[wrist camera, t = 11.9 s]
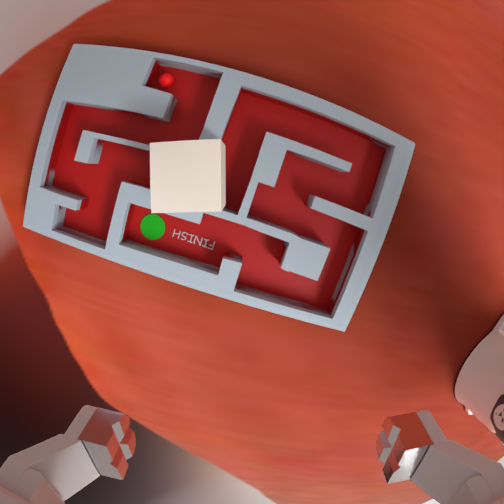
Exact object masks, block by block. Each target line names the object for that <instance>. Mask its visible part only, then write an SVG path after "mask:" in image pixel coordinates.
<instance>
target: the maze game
mask: <svg viewBox="0 0 504 504" xmlns="http://www.w3.org/2000/svg"><path fill="white" fill-rule="evenodd" d="M207 139H221V140H222V142H223V143H224V145H225V166H226V205H225V207H224V208H223V210H222V211H221V212H177V213H151V192H150V143H156V142H169V141H185V140H207ZM415 144H416V143H414V142H412V141H410V140H408V139H407V138H405V137H403V136H401V135H399V134H397V133H395V132H393V131H391V130H389V129H388V128H386V127H384V126H382V125H380V124H378V123H375V122H373V121H371V120H369V119H367V118H365V117H363V116H361V115H358V114H356V113H354V112H352V111H350V110H347V109H345V108H343V107H340V106H338V105H336V104H333V103H331V102H329V101H326V100H324V99H321V98H319V97H316V96H313V95H311V94H308V93H306V92H303V91H300V90H298V89H295V88H292V87H289V86H286V85H283V84H280V83H277V82H274V81H271V80H268V79H265V78H262V77H259V76H256V75H252V74H249V73H245V72H242V71H238V70H235V69H231V68H227V67H223V66H220V65H216V64H211V63H207V62H203V61H199V60H194V59H189V58H185V57H180V56H174V55H169V54H163V53H158V52H151V51H145V50H138V49H130V48H122V47H113V46H102V45H88V44H73V47H72V49H71V51H70V53H69V56H68V58H67V60H66V63H65V65H64V67H63V70H62V72H61V75H60V78H59V80H58V83H57V86H56V88H55V91H54V94H53V97H52V100H51V103H50V106H49V109H48V112H47V115H46V118H45V122H44V125H43V128H42V132H41V136H40V139H39V143H38V147H37V151H36V155H35V160H34V164H33V169H32V173H31V178H30V184H29V189H28V195H27V201H26V207H25V214H24V222H23V227H25V228H28V229H30V230H32V231H35V232H37V233H40V234H42V235H45V236H47V237H50V238H52V239H55V240H58V241H60V242H63V243H65V244H68V245H70V246H73V247H76V248H78V249H81V250H84V251H86V252H89V253H92V254H94V255H97V256H100V257H103V258H105V259H108V260H111V261H114V262H116V263H119V264H122V265H125V266H128V267H131V268H133V269H136V270H139V271H142V272H145V273H148V274H151V275H154V276H157V277H160V278H163V279H166V280H169V281H172V282H175V283H178V284H181V285H184V286H187V287H190V288H193V289H196V290H200V291H203V292H206V293H209V294H212V295H215V296H219V297H222V298H225V299H229V300H232V301H235V302H238V303H242V304H245V305H249V306H252V307H255V308H259V309H262V310H266V311H269V312H273V313H276V314H280V315H283V316H287V317H291V318H294V319H298V320H302V321H305V322H309V323H313V324H317V325H320V326H324V327H328V328H332V329H336V330H340V331H344V332H345V330H346V328H347V326H348V324H349V322H350V319H351V317H352V315H353V313H354V311H355V309H356V306H357V304H358V302H359V300H360V297H361V295H362V293H363V291H364V288H365V286H366V284H367V281H368V279H369V277H370V274H371V272H372V269H373V267H374V264H375V262H376V260H377V257H378V254H379V252H380V249H381V247H382V244H383V242H384V239H385V236H386V234H387V231H388V228H389V225H390V223H391V220H392V217H393V214H394V211H395V209H396V206H397V203H398V200H399V197H400V194H401V191H402V188H403V184H404V181H405V178H406V175H407V172H408V168H409V165H410V161H411V158H412V155H413V151H414V147H415Z"/></svg>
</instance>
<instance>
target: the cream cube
mask: <svg viewBox="0 0 504 504" xmlns="http://www.w3.org/2000/svg"><path fill="white" fill-rule="evenodd" d="M150 192H151V213H177V212H221V211H222V210H223V208H224V207H225V205H226V166H225V145H224V143H223V142H222V140H221V139H207V140H185V141H169V142H156V143H150Z"/></svg>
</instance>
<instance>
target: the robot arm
mask: <svg viewBox="0 0 504 504" xmlns="http://www.w3.org/2000/svg"><path fill="white" fill-rule="evenodd" d="M455 397H456V399H457V401H458V402H460V403H461V404H463V405H464V406H465V411H466V412H467V413H468V414H469V415H472V414H474V415H475V416H476V417H477V418H478V419H479V420H480V421H481V422H482V423H483V424H484V425H485V426H486V427H488V428H489V429H490V430H491V431H492V432H496V435H497V437H498V438H499V439H500V440H501V443H502V444H503V445H504V315H503V316H502V317H501V318H500V320H499V321H498V323H497V324H496V326H495V327H494V329H493V330H492V331H491V332H490V333H489V334H488V335H487V336H486V337H485V338H484V339H483V340H482V341H481V342H480V343H479V344H478V345H477V346H476V348H475V349H474V350H473V351H472V353H471V354H470V356H469V357H468V358H467V360H466V362H465V363H464V365H463V367H462V369H461V371H460V373H459V375H458V378H457V381H456V385H455ZM129 424H130V420H129V417H128V415H127V414H123V413H119V412H114V411H110V410H106V409H102V408H97V407H92V406H89V405H86V406H83V407H82V409H81V410H80V412H79V413H78V415H77V416H76V418H75V419H74V421H73V422H72V424H71V425H70V427H69V428H68V430H67V431H66V433H65V434H64V435H62V434H59V435H57V436H55V437H53V438H50V439H48V440H46V441H44V442H42V443H39V444H37V445H35V446H32V447H30V448H28V449H26V450H23V451H21V452H18V453H16V454H14V455H11V456H9V458H8V459H7V460H6V462H5V463H4V464H3V466H2V467H1V468H0V504H65V503H64V502H63V501H65V500H66V499H68V498H69V497H71V496H72V495H73V494H75V493H76V492H78V491H79V490H81V489H82V488H83V487H85V486H86V485H88V484H89V483H90V482H92V481H93V480H95V479H96V478H97V477H99V476H100V475H104V476H108V477H112V478H116V479H120V480H123V478H124V476H125V473H126V471H127V468H128V464H127V461H126V460H127V459H129V458H130V457H132V456H133V453H134V451H135V444H136V440H135V434H134V431H132V429H131V428H129V427H128V426H129ZM382 427H383V429H384V430H383V431H382V432H381V433H380V434H379V435H378V438H377V441H376V452H377V456H378V459H379V460H380V461H381V462H383V463H384V466H383V469H382V471H383V473H384V476H385V479H386V482H387V484H389V483H394V482H399V481H403V480H408V479H410V480H411V481H412V482H413V483H414V484H416V485H417V486H418V487H419V488H421V489H422V490H423V491H424V492H426V493H427V494H428V495H430V496H431V497H432V498H434V499H435V500H436V501H437V502H439V503H440V504H504V468H503V466H502V465H501V464H500V463H498V462H496V461H494V460H492V459H490V458H488V457H486V456H484V455H481V454H479V453H477V452H475V451H473V450H471V449H469V448H467V447H465V446H463V445H461V444H459V443H457V442H455V441H453V440H451V439H450V440H447V439H446V437H445V435H444V434H443V432H442V430H441V429H440V427H439V425H438V424H437V422H436V421H435V419H434V417H433V416H432V414H431V413H430V411H428V410H422V411H418V412H414V413H407V414H402V415H397V416H391V417H387V418H386V419H385V420H384V422H383V425H382ZM99 474H100V475H99Z"/></svg>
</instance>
